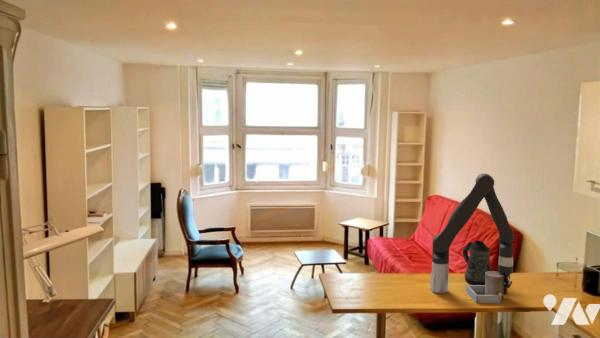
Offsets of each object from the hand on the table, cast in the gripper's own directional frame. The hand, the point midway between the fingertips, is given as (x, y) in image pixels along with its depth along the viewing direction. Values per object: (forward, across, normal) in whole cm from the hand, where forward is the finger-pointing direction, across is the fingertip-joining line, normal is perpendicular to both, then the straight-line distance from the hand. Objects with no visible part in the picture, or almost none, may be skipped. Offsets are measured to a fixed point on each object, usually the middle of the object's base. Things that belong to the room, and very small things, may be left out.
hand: (504, 293), depth 247 cm
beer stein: (+2, -25, -6) cm, 26 cm away
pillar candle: (+2, 0, -6) cm, 6 cm away
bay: (+2, 0, -12) cm, 12 cm away
